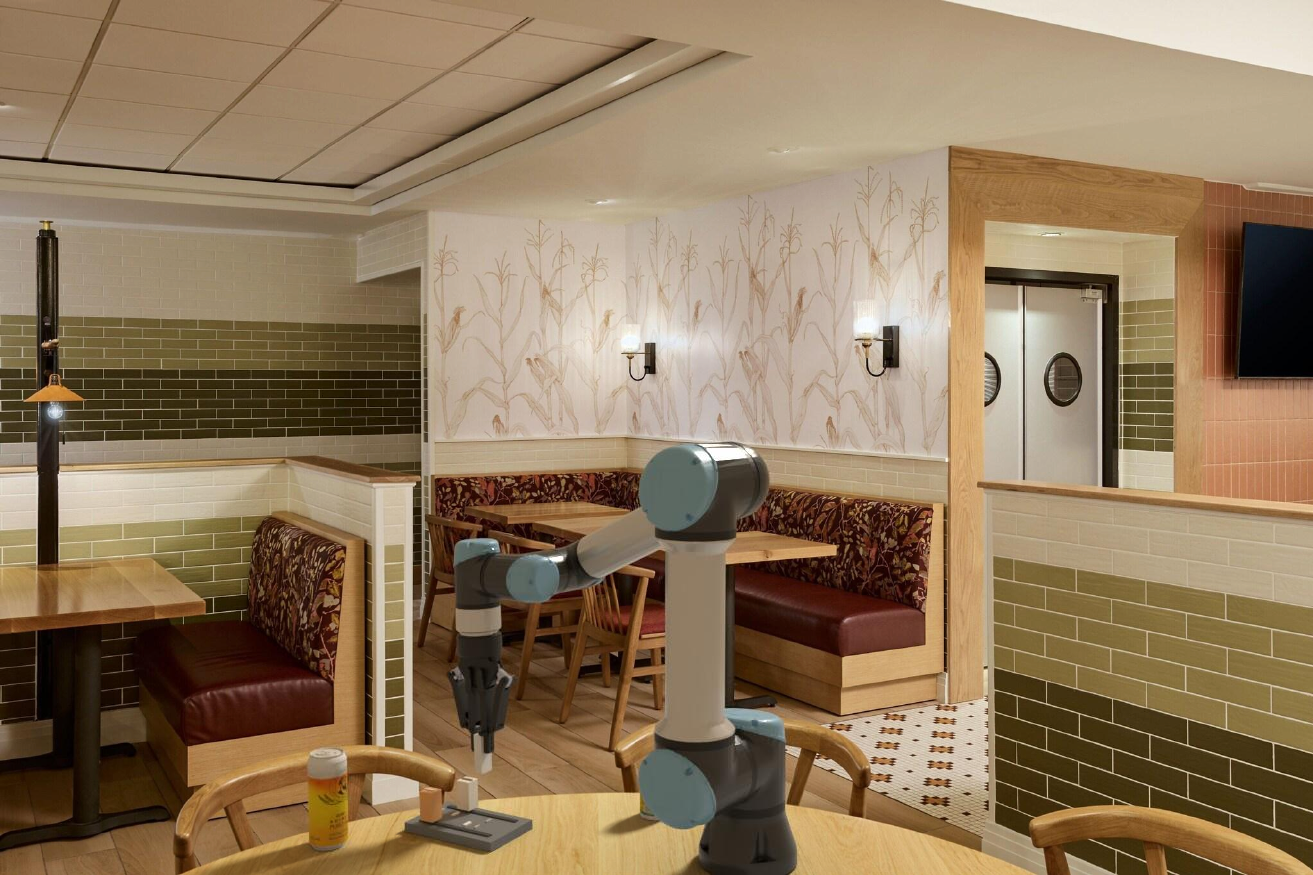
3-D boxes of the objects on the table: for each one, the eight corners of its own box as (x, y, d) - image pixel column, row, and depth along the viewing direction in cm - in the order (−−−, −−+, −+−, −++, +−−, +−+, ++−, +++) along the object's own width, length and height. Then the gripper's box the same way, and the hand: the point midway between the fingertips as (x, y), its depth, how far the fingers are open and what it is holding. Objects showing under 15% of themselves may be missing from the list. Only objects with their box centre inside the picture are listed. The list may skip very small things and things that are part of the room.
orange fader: (442, 817, 187) (441, 788, 187) (432, 822, 185) (431, 792, 185) (429, 815, 188) (429, 785, 188) (420, 819, 186) (419, 789, 186)
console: (532, 828, 187) (532, 818, 187) (491, 851, 178) (491, 841, 178) (448, 809, 196) (448, 799, 196) (404, 831, 187) (404, 820, 187)
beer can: (337, 853, 178) (335, 759, 178) (301, 850, 179) (300, 756, 179) (355, 838, 184) (353, 747, 183) (320, 835, 185) (318, 745, 185)
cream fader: (478, 806, 192) (477, 777, 192) (469, 811, 190) (468, 781, 190) (466, 803, 193) (465, 775, 193) (457, 808, 191) (456, 779, 191)
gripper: (523, 630, 189) (528, 770, 190) (462, 624, 196) (467, 760, 196) (496, 638, 183) (500, 783, 183) (434, 632, 189) (438, 772, 190)
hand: (483, 771), depth 190 cm, fingers closed
